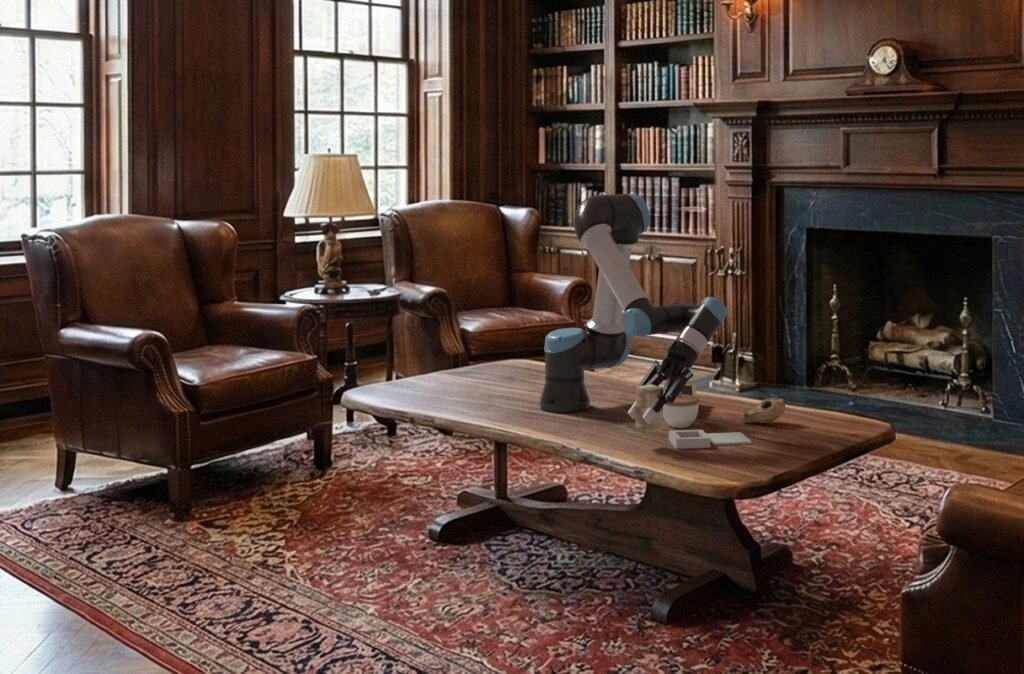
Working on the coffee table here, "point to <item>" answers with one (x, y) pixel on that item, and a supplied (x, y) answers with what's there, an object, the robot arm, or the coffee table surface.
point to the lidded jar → (681, 411)
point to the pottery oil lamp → (765, 411)
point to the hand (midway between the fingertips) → (638, 418)
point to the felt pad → (728, 438)
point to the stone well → (689, 439)
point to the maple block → (643, 402)
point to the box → (689, 389)
